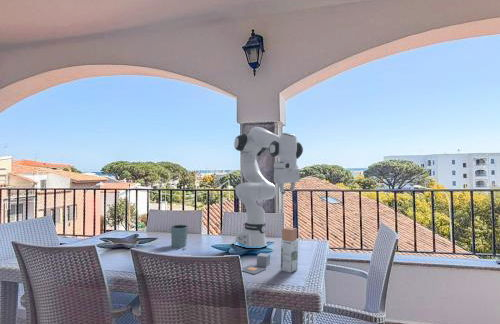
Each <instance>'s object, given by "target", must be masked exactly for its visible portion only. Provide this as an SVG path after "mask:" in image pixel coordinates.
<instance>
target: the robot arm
mask: <svg viewBox="0 0 500 324" xmlns="http://www.w3.org/2000/svg"><path fill="white" fill-rule="evenodd" d="M248 132H249V133H248V134H246V133H243V134H238V135H237V136H236V137H235V139H234V144H233V145H234V146H233V147H234V149H235V150H236V151H238V152H243V153H242V154H241V155H240V167H241V171H242V175H243V178H244V180H245V181H246V182H240V183H238V184H237V185H236V187H235V195H236V197H237V199H238V200H240V201H241V202H242V204H243V205H244V207H245V210H246V222H245V223H243V224H242V225H243V226H244V228H242V230H241V231H239V232H238V233H237V234H236V236H235V240H234V241H232V242H231V245H232V244H234V243H236V242H240V243H242V244H245V245H247V246H250V247H252V246H266V245H267V246H268V244H267V239H266V225H267V224H266V212H265V211H266V210H265V209H264V208H263V207H262V206H261V205H258V204H257V201H267V200H271V199H272V200H273V199H274V198H275V196H276V194H277V187H276V186H275V184H278V187H279V193H285V190H286V189H285V188H284V186H285V185H284V184H289V183H290V187H289V192H294V191H295V186H296V183H299V182H300V169H299V167H298V165H297V163H298V162H297V161H298V160H297V159H299V158H300V157H301V156H302V154H303V152H304V147H303V145H302V144H301V142H300V141H298V140H297V136H296V134H294V133H288V132H282V133H281V134H280V135H278V134H276V133H273V132H271V131H269V130H268V129H266V128H264V127H261V126H253V127H251V128H250V130H249V131H248ZM267 148H268V150H269V154H270V156H271V157H272V158H275V159H279V160H278V161H276V162H275V163H274V164H273V168H274V170H273V182H274V183H275V184H274V183H272V182H270V181H268V179H266V178H265V177H264V175H263V174H262V172H261V169H260V167H259V162H258V161H257V160H258V159H257V157H260V156H262V154H263V153H264V152H265V151H267Z"/></svg>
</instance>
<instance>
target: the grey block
mask: <svg viewBox="0 0 500 324" xmlns="http://www.w3.org/2000/svg"><path fill="white" fill-rule="evenodd" d="M270 264H271V254H270V253H264V252H260V253H257V255H256V266H258V267H262V268H267V267H268V266H270Z"/></svg>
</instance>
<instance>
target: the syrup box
mask: <svg viewBox="0 0 500 324" xmlns="http://www.w3.org/2000/svg"><path fill="white" fill-rule="evenodd" d="M280 245H281V246H280V247H281V248H280V249H281V250H280V252H281V253H280V270H281V271H282V272H285V273H289V274H292V273H294V272H296V271H298V257H299V256H298V253H299V251H298V250H299V240H298V238H297V239H296V240H293V241H288V240H283V239H281V244H280Z"/></svg>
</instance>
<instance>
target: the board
mask: <svg viewBox="0 0 500 324" xmlns="http://www.w3.org/2000/svg"><path fill="white" fill-rule="evenodd" d="M241 269H243V271H242V272H243V273H247V274H250V275H257V274H260V273H262V272H264V271H266V270H267V269H266V267H262V266H257V265H254V264H249V265H247V266H245V267H241Z"/></svg>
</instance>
